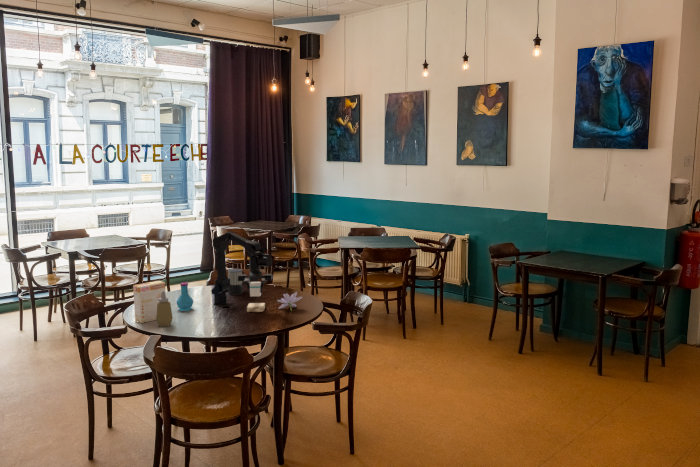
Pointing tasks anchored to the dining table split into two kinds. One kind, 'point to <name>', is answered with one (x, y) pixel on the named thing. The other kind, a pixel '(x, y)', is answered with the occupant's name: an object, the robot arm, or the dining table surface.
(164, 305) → the squeeze bottle
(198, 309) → the dining table surface
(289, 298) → the water lily
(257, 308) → the block
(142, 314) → the coffeecake box
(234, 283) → the milk frother
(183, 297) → the perfume bottle
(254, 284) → the teal-striped cream cube
